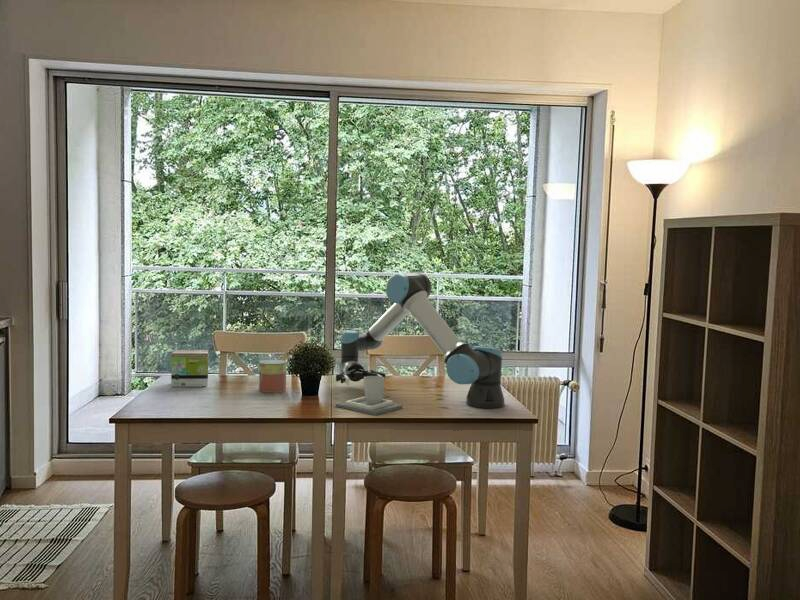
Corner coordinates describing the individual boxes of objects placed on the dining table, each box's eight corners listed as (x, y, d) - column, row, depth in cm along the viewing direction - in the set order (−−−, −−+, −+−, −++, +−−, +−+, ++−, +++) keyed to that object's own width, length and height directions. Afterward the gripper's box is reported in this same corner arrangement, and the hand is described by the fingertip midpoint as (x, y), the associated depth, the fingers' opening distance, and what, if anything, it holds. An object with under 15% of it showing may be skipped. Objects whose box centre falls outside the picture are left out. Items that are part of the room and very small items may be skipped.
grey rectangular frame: (402, 407, 286) (402, 401, 286) (375, 415, 273) (375, 408, 273) (363, 399, 298) (363, 393, 298) (335, 406, 285) (335, 400, 285)
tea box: (171, 387, 312) (170, 353, 310) (172, 383, 322) (172, 349, 320) (207, 387, 315) (208, 352, 314) (208, 382, 325) (208, 348, 324)
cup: (385, 401, 290) (386, 376, 289) (382, 406, 282) (383, 380, 281) (365, 400, 291) (365, 375, 290) (361, 405, 283) (362, 379, 282)
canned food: (258, 387, 317) (258, 359, 316) (285, 386, 320) (285, 359, 319) (259, 392, 306) (259, 364, 305) (286, 392, 309) (287, 363, 308)
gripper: (382, 379, 315) (395, 389, 295) (324, 380, 309) (333, 391, 288) (383, 361, 315) (396, 370, 294) (324, 362, 308) (333, 372, 288)
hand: (365, 381), depth 291 cm, fingers open, 13 cm apart
